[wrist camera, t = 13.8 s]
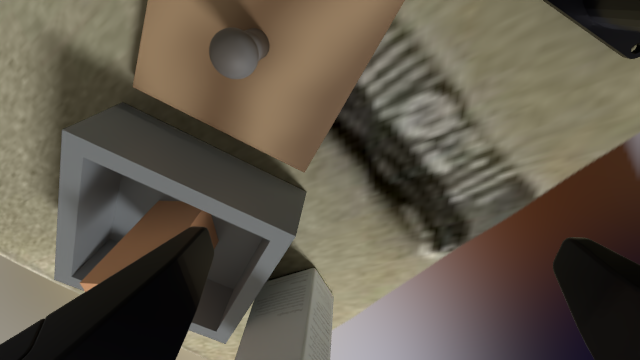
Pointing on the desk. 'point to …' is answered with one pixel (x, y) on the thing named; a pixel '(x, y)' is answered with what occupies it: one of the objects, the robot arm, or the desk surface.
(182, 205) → the tan wooden brick
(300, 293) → the skincare box
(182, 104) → the stud base
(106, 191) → the bin
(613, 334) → the robot arm
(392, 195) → the desk surface
